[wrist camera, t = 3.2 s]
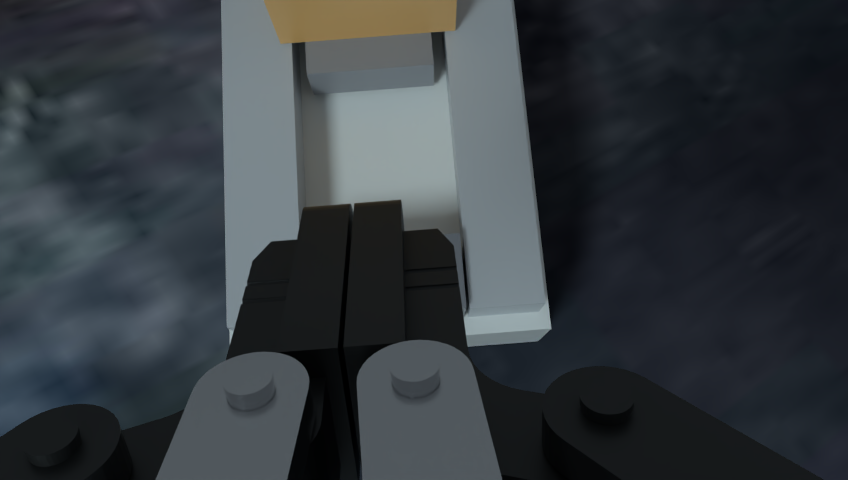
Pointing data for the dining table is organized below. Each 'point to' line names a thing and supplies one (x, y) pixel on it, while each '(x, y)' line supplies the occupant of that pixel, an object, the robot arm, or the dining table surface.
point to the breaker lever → (364, 40)
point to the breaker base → (391, 159)
